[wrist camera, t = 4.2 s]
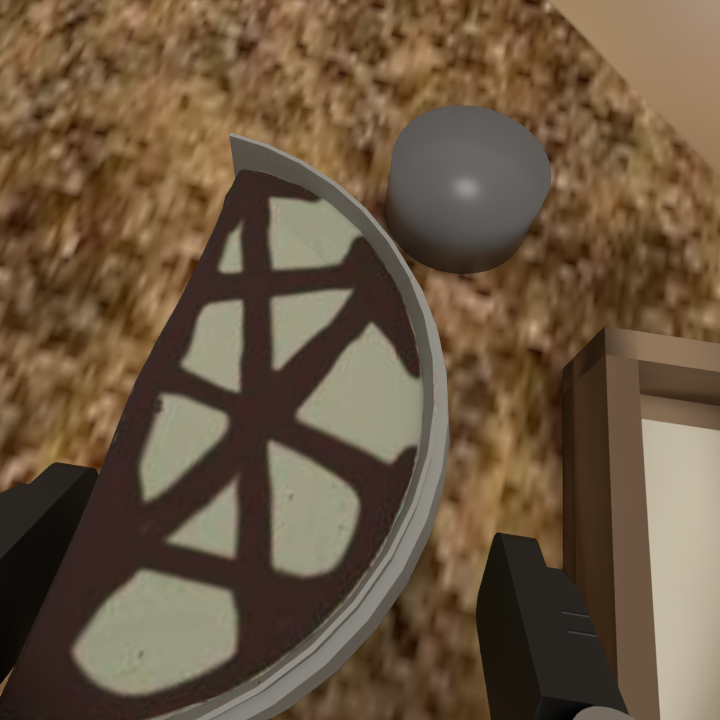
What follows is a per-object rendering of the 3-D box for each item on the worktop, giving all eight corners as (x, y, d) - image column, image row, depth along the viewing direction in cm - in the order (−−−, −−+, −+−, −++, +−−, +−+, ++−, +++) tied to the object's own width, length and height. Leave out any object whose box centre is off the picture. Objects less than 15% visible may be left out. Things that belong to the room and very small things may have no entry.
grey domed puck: (375, 263, 23) (382, 216, 20) (393, 151, 25) (401, 95, 23) (523, 286, 23) (550, 241, 20) (527, 171, 25) (551, 117, 23)
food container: (347, 754, 16) (376, 945, 7) (142, 691, 16) (-90, 795, 7) (435, 368, 21) (519, 182, 12) (276, 326, 21) (238, 114, 12)
